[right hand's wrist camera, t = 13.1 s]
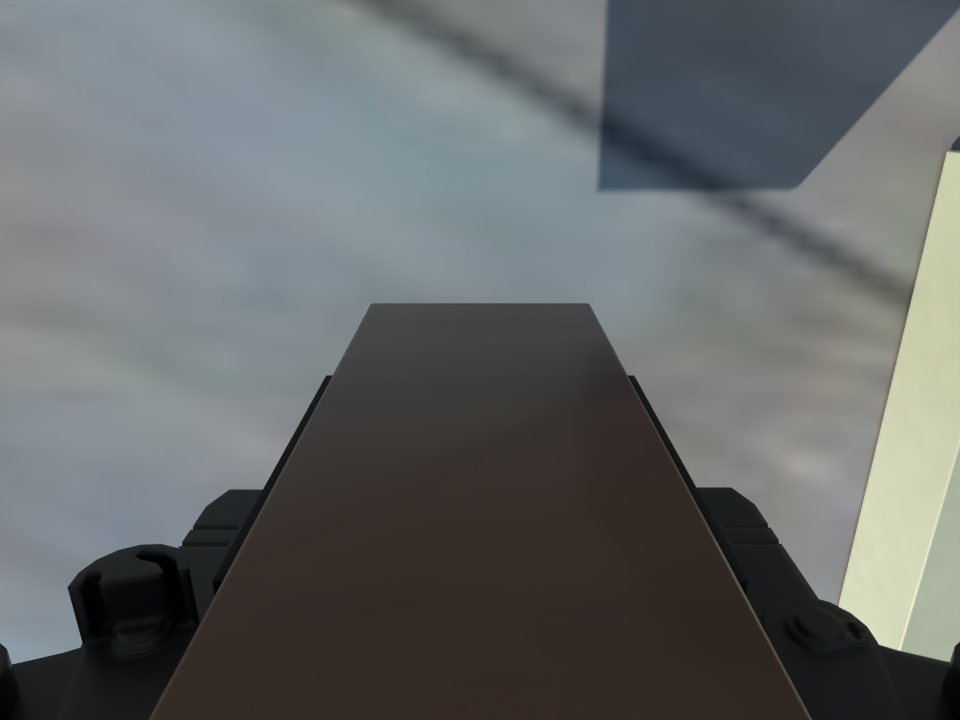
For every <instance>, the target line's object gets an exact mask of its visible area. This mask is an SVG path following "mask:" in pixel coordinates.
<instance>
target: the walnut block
mask: <svg viewBox="0 0 960 720" xmlns="http://www.w3.org/2000/svg"><path fill="white" fill-rule="evenodd" d="M149 720H812V718H811V717H810V715H809V713H808V711H807V709H806V707H805V705H804V704H803V702H802V700H801V698H800V696H799V694H798V692H797V691H796V689H795V687H794V685H793V683H792V681H791V679H790V677H789V676H788V674H787V672H786V670H785V668H784V666H783V664H782V663H781V661H780V659H779V657H778V655H777V653H776V651H775V649H774V648H773V646H772V644H771V642H770V640H769V638H768V636H767V635H766V633H765V631H764V629H763V627H762V625H761V623H760V622H759V620H758V618H757V616H756V614H755V612H754V610H753V608H752V607H751V605H750V603H749V601H748V599H747V597H746V595H745V594H744V592H743V590H742V588H741V586H740V584H739V582H738V580H737V579H736V577H735V575H734V573H733V571H732V569H731V567H730V566H729V564H728V562H727V560H726V558H725V556H724V554H723V552H722V551H721V549H720V547H719V545H718V543H717V541H716V539H715V538H714V536H713V534H712V532H711V530H710V528H709V526H708V525H707V523H706V521H705V519H704V517H703V515H702V513H701V511H700V510H699V508H698V506H697V504H696V502H695V500H694V498H693V497H692V495H691V493H690V491H689V489H688V487H687V485H686V483H685V482H684V480H683V478H682V476H681V474H680V472H679V470H678V469H677V467H676V465H675V463H674V461H673V459H672V457H671V456H670V454H669V452H668V450H667V448H666V446H665V444H664V442H663V441H662V439H661V437H660V435H659V433H658V431H657V429H656V428H655V426H654V424H653V422H652V420H651V418H650V416H649V414H648V413H647V411H646V409H645V407H644V405H643V403H642V401H641V400H640V398H639V396H638V394H637V392H636V390H635V388H634V386H633V385H632V383H631V381H630V379H629V377H628V375H627V373H626V372H625V370H624V368H623V366H622V364H621V362H620V360H619V359H618V357H617V355H616V353H615V351H614V349H613V347H612V345H611V344H610V342H609V340H608V338H607V336H606V334H605V332H604V331H603V329H602V327H601V325H600V323H599V321H598V319H597V317H596V316H595V314H594V312H593V310H592V308H591V306H590V305H589V304H371V305H370V307H369V309H368V311H367V313H366V315H365V316H364V318H363V320H362V322H361V324H360V326H359V328H358V329H357V331H356V333H355V335H354V337H353V339H352V341H351V343H350V344H349V346H348V348H347V350H346V352H345V354H344V356H343V358H342V359H341V361H340V363H339V365H338V367H337V369H336V371H335V372H334V374H333V376H332V378H331V380H330V382H329V384H328V386H327V387H326V389H325V391H324V393H323V395H322V397H321V399H320V400H319V402H318V404H317V406H316V408H315V410H314V412H313V414H312V415H311V417H310V419H309V421H308V423H307V425H306V427H305V429H304V430H303V432H302V434H301V436H300V438H299V440H298V442H297V443H296V445H295V447H294V449H293V451H292V453H291V455H290V457H289V458H288V460H287V462H286V464H285V466H284V468H283V470H282V472H281V473H280V475H279V477H278V479H277V481H276V483H275V485H274V486H273V488H272V490H271V492H270V494H269V496H268V498H267V500H266V501H265V503H264V505H263V507H262V509H261V511H260V513H259V515H258V516H257V518H256V520H255V522H254V524H253V526H252V528H251V529H250V531H249V533H248V535H247V537H246V539H245V541H244V543H243V544H242V546H241V548H240V550H239V552H238V554H237V556H236V557H235V559H234V561H233V563H232V565H231V567H230V569H229V571H228V572H227V574H226V576H225V578H224V580H223V582H222V584H221V586H220V587H219V589H218V591H217V593H216V595H215V597H214V599H213V600H212V602H211V604H210V606H209V608H208V610H207V612H206V614H205V615H204V617H203V619H202V621H201V623H200V625H199V627H198V629H197V630H196V632H195V634H194V636H193V638H192V640H191V642H190V643H189V645H188V647H187V649H186V651H185V653H184V655H183V657H182V658H181V660H180V662H179V664H178V666H177V668H176V670H175V672H174V673H173V675H172V677H171V679H170V681H169V683H168V685H167V686H166V688H165V690H164V692H163V694H162V696H161V698H160V700H159V701H158V703H157V705H156V707H155V709H154V711H153V713H152V714H151V716H150V718H149Z"/></svg>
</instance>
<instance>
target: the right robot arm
mask: <svg viewBox="0 0 960 720" xmlns="http://www.w3.org/2000/svg"><path fill="white" fill-rule="evenodd" d="M628 377H629V379H630V381H631V383H632V385H633V386H634V388H635V390H636V392H637V394H638V396H639V398H640V400H641V401H642V403H643V405H644V407H645V409H646V411H647V413H648V414H649V416H650V418H651V420H652V422H653V424H654V426H655V428H656V429H657V431H658V433H659V435H660V437H661V439H662V441H663V442H664V444H665V446H666V448H667V450H668V452H669V454H670V456H671V457H672V459H673V461H674V463H675V465H676V467H677V469H678V470H679V472H680V474H681V476H682V478H683V480H684V482H685V483H686V485H687V487H688V489H689V491H690V493H691V495H692V497H693V498H694V500H695V502H696V504H697V506H698V508H699V510H700V511H701V513H702V515H703V517H704V519H705V521H706V523H707V525H708V526H709V528H710V530H711V532H712V534H713V536H714V538H715V539H716V541H717V543H718V545H719V547H720V549H721V551H722V552H723V554H724V556H725V558H726V560H727V562H728V564H729V566H730V567H731V569H732V571H733V573H734V575H735V577H736V579H737V580H738V582H739V584H740V586H741V588H742V590H743V592H744V594H745V595H746V597H747V599H748V601H749V603H750V605H751V607H752V608H753V610H754V612H755V614H756V616H757V618H758V620H759V622H760V623H761V625H762V627H763V629H764V631H765V633H766V635H767V636H768V638H769V640H770V642H771V644H772V646H773V648H774V649H775V651H776V653H777V655H778V657H779V659H780V661H781V663H782V664H783V666H784V668H785V670H786V672H787V674H788V676H789V677H790V679H791V681H792V683H793V685H794V687H795V689H796V691H797V692H798V694H799V696H800V698H801V700H802V702H803V704H804V705H805V707H806V709H807V711H808V713H809V715H810V717H811V718H812V720H960V642H959V643H958V644H957V645H955V647H954V650H953V653H952V656H951V659H950V662H947V661H942V660H938V659H934V658H929V657H925V656H920V655H916V654H912V653H907V652H903V651H899V650H895V649H892V648H889V647H885V646H882V645H879V644H878V642H877V641H876V639H875V637H874V636H873V634H872V633H871V631H870V630H869V628H868V627H867V626H866V625H865V624H864V623H862V622H861V621H860V620H859V619H858V618H856V617H855V616H854V615H853V614H851V613H850V612H848V611H846V610H844V609H842V608H840V607H838V606H836V605H834V604H832V603H830V602H827V601H823V600H819V599H818V597H817V596H816V594H815V593H814V592H813V590H812V589H811V587H810V586H809V584H808V583H807V581H806V580H805V578H804V577H803V575H802V574H801V572H800V571H799V569H798V568H797V566H796V565H795V563H794V562H793V560H792V559H791V558H790V556H789V555H788V553H787V552H786V550H785V549H784V547H783V546H782V544H779V540H778V538H777V537H776V535H775V534H774V532H773V531H772V529H771V528H768V524H767V522H766V521H765V519H764V518H763V516H762V515H761V513H760V512H759V510H758V509H757V507H756V506H755V504H753V503H752V502H751V501H749V500H748V499H746V498H745V497H744V496H742V495H741V494H739V493H738V492H737V491H735V490H734V489H732V488H696V486H695V484H694V483H693V481H692V479H691V477H690V475H689V474H688V472H687V470H686V468H685V466H684V465H683V463H682V461H681V459H680V457H679V456H678V454H677V452H676V450H675V448H674V447H673V445H672V443H671V441H670V439H669V438H668V436H667V434H666V432H665V430H664V429H663V427H662V425H661V423H660V421H659V420H658V418H657V416H656V414H655V412H654V411H653V409H652V407H651V405H650V403H649V402H648V400H647V398H646V396H645V394H644V393H643V391H642V389H641V387H640V385H639V384H638V382H637V380H636V378H635V376H628ZM331 378H332V376H326V377H325V379H324V381H323V383H322V384H321V386H320V388H319V390H318V392H317V393H316V395H315V397H314V399H313V401H312V402H311V404H310V406H309V408H308V410H307V411H306V413H305V415H304V417H303V419H302V420H301V422H300V424H299V426H298V428H297V429H296V431H295V433H294V435H293V437H292V438H291V440H290V442H289V444H288V446H287V447H286V449H285V451H284V453H283V455H282V456H281V458H280V460H279V462H278V464H277V465H276V467H275V469H274V471H273V473H272V474H271V476H270V478H269V480H268V482H267V483H266V485H265V487H264V489H263V490H228V491H227V492H226V493H224V494H223V495H221V496H220V497H219V498H217V499H216V500H215V501H213V502H212V503H210V504H209V505H208V506H206V508H205V509H204V511H203V512H202V514H201V515H200V517H199V518H198V520H197V521H196V523H195V524H194V526H193V530H190V531H189V533H188V534H187V536H186V537H185V539H184V540H183V542H182V546H179V548H175V547H171V546H167V545H163V544H151V545H138V546H134V547H130V548H126V549H122V550H118V551H115V552H113V553H111V554H109V555H107V556H104V557H102V558H100V559H98V560H96V561H94V562H93V563H92V564H90V565H89V566H87V567H86V568H85V569H83V570H82V571H81V572H79V573H78V574H77V576H76V577H75V578H74V580H73V581H72V582H71V584H70V585H69V586H68V591H69V594H70V598H71V602H72V605H73V609H74V613H75V617H76V620H77V624H78V628H79V631H80V635H81V639H82V642H83V643H82V646H81V648H78V649H75V650H71V651H68V652H65V653H61V654H56V655H52V656H48V657H43V658H39V659H35V660H30V661H26V662H22V663H17V664H13V665H12V664H11V661H10V658H9V655H8V651H7V649H6V648H5V647H4V646H3V645H2V644H0V720H149V718H150V716H151V714H152V713H153V711H154V709H155V707H156V705H157V703H158V701H159V700H160V698H161V696H162V694H163V692H164V690H165V688H166V686H167V685H168V683H169V681H170V679H171V677H172V675H173V673H174V672H175V670H176V668H177V666H178V664H179V662H180V660H181V658H182V657H183V655H184V653H185V651H186V649H187V647H188V645H189V643H190V642H191V640H192V638H193V636H194V634H195V632H196V630H197V629H198V627H199V625H200V623H201V621H202V619H203V617H204V615H205V614H206V612H207V610H208V608H209V606H210V604H211V602H212V600H213V599H214V597H215V595H216V593H217V591H218V589H219V587H220V586H221V584H222V582H223V580H224V578H225V576H226V574H227V572H228V571H229V569H230V567H231V565H232V563H233V561H234V559H235V557H236V556H237V554H238V552H239V550H240V548H241V546H242V544H243V543H244V541H245V539H246V537H247V535H248V533H249V531H250V529H251V528H252V526H253V524H254V522H255V520H256V518H257V516H258V515H259V513H260V511H261V509H262V507H263V505H264V503H265V501H266V500H267V498H268V496H269V494H270V492H271V490H272V488H273V486H274V485H275V483H276V481H277V479H278V477H279V475H280V473H281V472H282V470H283V468H284V466H285V464H286V462H287V460H288V458H289V457H290V455H291V453H292V451H293V449H294V447H295V445H296V443H297V442H298V440H299V438H300V436H301V434H302V432H303V430H304V429H305V427H306V425H307V423H308V421H309V419H310V417H311V415H312V414H313V412H314V410H315V408H316V406H317V404H318V402H319V400H320V399H321V397H322V395H323V393H324V391H325V389H326V387H327V386H328V384H329V382H330V380H331Z"/></svg>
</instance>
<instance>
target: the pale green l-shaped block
mask: <svg viewBox="0 0 960 720" xmlns="http://www.w3.org/2000/svg"><path fill="white" fill-rule="evenodd" d="M838 607H840V608H842V609H844V610H846V611H848V612H850V613H851V614H853V615H854V616H855V617H856V618H858V619H859V620H860V621H861V622H862V623H864V624H865V625H866V626H867V627H868V628H869V630H870V631H871V633H872V634H873V636H874V637H875V639H876V641H877V642H878V644H879V645H882V646H885V647H889V648H892V649H895V650H899V651H903V652H907V653H912V654H916V655H920V656H925V657H929V658H934V659H938V660H942V661H947V662H950V659H951V656H952V653H953V650H954V647H955V645H957V644H958V643H959V642H960V150H949V151H947V153H946V157H945V162H944V166H943V170H942V174H941V178H940V182H939V187H938V191H937V195H936V199H935V203H934V208H933V212H932V216H931V220H930V224H929V229H928V233H927V237H926V241H925V245H924V249H923V254H922V258H921V262H920V266H919V270H918V275H917V279H916V283H915V287H914V291H913V295H912V300H911V304H910V308H909V312H908V316H907V321H906V325H905V329H904V333H903V337H902V342H901V346H900V350H899V354H898V358H897V362H896V367H895V371H894V375H893V379H892V383H891V388H890V392H889V396H888V400H887V404H886V408H885V413H884V417H883V421H882V425H881V429H880V434H879V438H878V442H877V446H876V450H875V455H874V459H873V463H872V467H871V471H870V475H869V480H868V484H867V488H866V492H865V496H864V501H863V505H862V509H861V513H860V517H859V521H858V526H857V530H856V534H855V538H854V542H853V547H852V551H851V555H850V559H849V563H848V568H847V572H846V576H845V580H844V584H843V588H842V593H841V597H840V601H839V605H838Z"/></svg>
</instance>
